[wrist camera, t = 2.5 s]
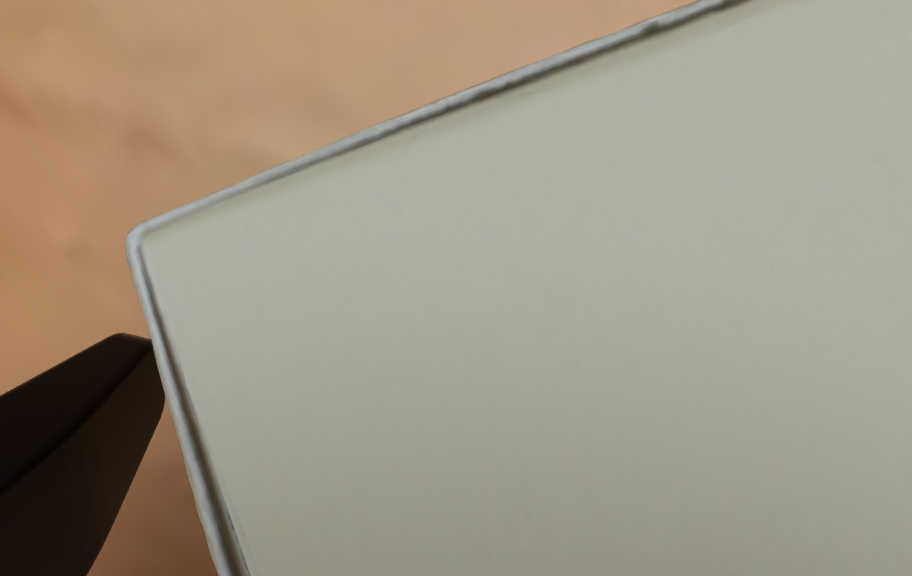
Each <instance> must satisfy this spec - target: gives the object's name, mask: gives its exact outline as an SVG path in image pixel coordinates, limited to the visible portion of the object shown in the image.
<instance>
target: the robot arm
mask: <svg viewBox="0 0 912 576" xmlns="http://www.w3.org/2000/svg"><path fill="white" fill-rule="evenodd" d="M164 404H165V392H164V388H163V385H162V381H161V377H160V374H159V370H158V366H157V362H156V358H155V353H154V349H153V344H152V340H151V339H148V338H143V337H139V336H135V335H131V334H127V333H117V334H114V335H111V336H109V337H107V338H105V339H104V340H102V341H100V342H98V343H96V344H94V345H93V346H91V347H89V348H87V349H85V350H83V351H82V352H80V353H78V354H76V355H74V356H72V357H71V358H69V359H67V360H65V361H63V362H61V363H60V364H58V365H56V366H54V367H52V368H50V369H49V370H47V371H45V372H43V373H41V374H39V375H38V376H36V377H34V378H32V379H30V380H28V381H27V382H25V383H23V384H21V385H19V386H17V387H15V388H14V389H12V390H10V391H8V392H6V393H4V394H3V395H1V396H0V576H86V575H87V574H88V572H89V570H90V569H91V567H92V565H93V563H94V561H95V559H96V558H97V556H98V554H99V552H100V550H101V549H102V547H103V544H104V542H105V540H106V538H107V536H108V534H109V532H110V530H111V528H112V525H113V523H114V521H115V519H116V516H117V514H118V512H119V510H120V508H121V505H122V503H123V501H124V499H125V496H126V494H127V492H128V490H129V487H130V485H131V483H132V481H133V478H134V476H135V474H136V472H137V469H138V467H139V465H140V463H141V461H142V458H143V456H144V454H145V452H146V449H147V447H148V445H149V443H150V440H151V438H152V436H153V434H154V431H155V429H156V427H157V425H158V422H159V420H160V418H161V415H162V412H163V408H164Z"/></svg>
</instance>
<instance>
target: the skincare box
mask: <svg viewBox="0 0 912 576" xmlns="http://www.w3.org/2000/svg"><path fill="white" fill-rule="evenodd" d="M125 249H126V260H127V263H128V266H129V269H130V272H131V275H132V279H133V282H134V285H135V288H136V291H137V294H138V297H139V300H140V303H141V307H142V310H143V313H144V316H145V319H146V322H147V325H148V328H149V332H150V336H151V340H152V344H153V349H154V353H155V358H156V362H157V366H158V370H159V374H160V377H161V381H162V385H163V388H164V392H165V396H166V399H167V403H168V407H169V410H170V413H171V416H172V420H173V423H174V426H175V429H176V432H177V436H178V439H179V442H180V446H181V450H182V454H183V459H184V463H185V467H186V471H187V475H188V479H189V482H190V485H191V488H192V490H193V494H194V499H195V503H196V508H197V513H198V516H199V518H200V521H201V523H202V526H203V528H204V532H205V536H206V540H207V544H208V548H209V552H210V554H211V557H212V560H213V563H214V565H215V568H216V571H217V573H218V576H912V0H698V1H696V2H693V3H691V4H688V5H685V6H682V7H680V8H677V9H674V10H672V11H669V12H666V13H663V14H661V15H658V16H655V17H652V18H650V19H647V20H644V21H641V22H639V23H636V24H634V25H632V26H629V27H627V28H625V29H622V30H620V31H617V32H615V33H612V34H609V35H606V36H603V37H600V38H597V39H594V40H591V41H588V42H585V43H583V44H580V45H578V46H576V47H573V48H571V49H569V50H566V51H564V52H561V53H559V54H556V55H553V56H550V57H548V58H545V59H542V60H540V61H537V62H535V63H532V64H529V65H527V66H524V67H521V68H519V69H516V70H514V71H511V72H508V73H506V74H503V75H500V76H498V77H495V78H493V79H490V80H488V81H485V82H482V83H480V84H477V85H475V86H472V87H470V88H467V89H464V90H462V91H459V92H457V93H454V94H452V95H449V96H447V97H444V98H442V99H439V100H436V101H434V102H431V103H429V104H427V105H424V106H422V107H419V108H417V109H415V110H412V111H410V112H408V113H405V114H402V115H400V116H397V117H395V118H392V119H389V120H387V121H384V122H381V123H379V124H376V125H374V126H371V127H369V128H366V129H364V130H361V131H359V132H356V133H354V134H351V135H349V136H346V137H344V138H342V139H339V140H337V141H335V142H332V143H330V144H328V145H326V146H323V147H321V148H319V149H316V150H314V151H312V152H309V153H307V154H305V155H303V156H300V157H298V158H296V159H293V160H291V161H288V162H285V163H282V164H279V165H276V166H274V167H271V168H269V169H266V170H264V171H262V172H260V173H257V174H255V175H253V176H251V177H248V178H246V179H244V180H242V181H239V182H237V183H235V184H233V185H230V186H228V187H226V188H223V189H221V190H218V191H216V192H214V193H211V194H209V195H206V196H204V197H202V198H199V199H197V200H194V201H192V202H190V203H187V204H185V205H182V206H180V207H178V208H175V209H173V210H171V211H168V212H166V213H163V214H161V215H158V216H156V217H153V218H151V219H148V220H146V221H143V222H141V223H139V224H137V225H136V226H135V227H134V228H132V229H131V230H130V232H129V234H128V236H127V238H126V244H125Z"/></svg>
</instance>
